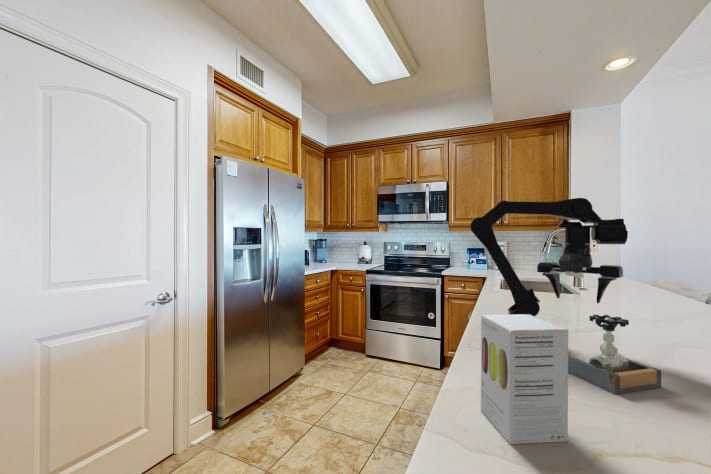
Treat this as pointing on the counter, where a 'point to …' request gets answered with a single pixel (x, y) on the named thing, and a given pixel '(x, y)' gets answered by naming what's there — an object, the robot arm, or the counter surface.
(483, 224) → the robot arm
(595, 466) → the counter surface
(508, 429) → the supplement box
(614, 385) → the grey wooden tray
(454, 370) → the counter surface
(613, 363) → the valve
